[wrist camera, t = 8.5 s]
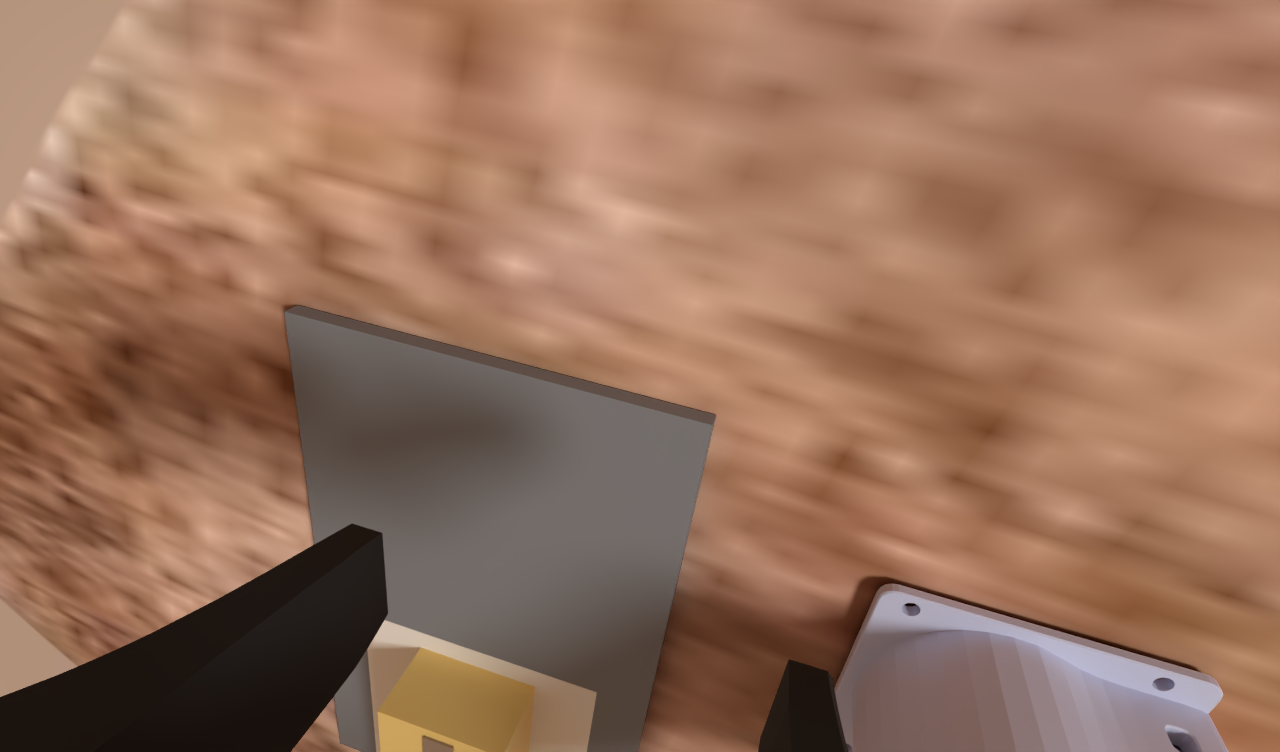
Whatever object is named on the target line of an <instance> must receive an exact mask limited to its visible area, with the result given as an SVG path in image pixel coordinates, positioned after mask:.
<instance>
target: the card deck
mask: <svg viewBox="0 0 1280 752" xmlns="http://www.w3.org/2000/svg"><path fill="white" fill-rule="evenodd" d="M534 696H535V687H534V686H531V685H528V684H525V683H522V682H519V681H516V680H514V679H511V678H508V677H505V676H502V675H499V674H496V673H493V672H491V671H488V670H485V669H482V668H479V667H476V666H473V665H470V664H467V663H465V662H462V661H459V660H456V659H453V658H450V657H447V656H444V655H442V654H439V653H436V652H433V651H430V650H427V649H424V648H420V650H419V651H418V653H417V654H416V656H415V657H414V658H413V660H412V661H411V663H410V664H409V666H408V667H407V669H406V670H405V672H404V673H403V675H402V676H401V678H400V679H399V680H398V682H397V683H396V685H395V686H394V688H393V689H392V691H391V692H390V694H389V695H388V697H387V698H386V700H385V701H384V702H383V704H382V705H381V707H380V708H379V710H378V711H377V713H378V726H379V739H380V752H529V744H530V734H531V725H532V715H533V705H534Z"/></svg>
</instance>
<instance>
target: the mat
mask: <svg viewBox="0 0 1280 752" xmlns="http://www.w3.org/2000/svg"><path fill="white" fill-rule="evenodd" d="M284 314H285V321H286V329H287V337H288V344H289V352H290V360H291V368H292V375H293V383H294V391H295V398H296V406H297V414H298V422H299V429H300V437H301V445H302V453H303V460H304V468H305V476H306V483H307V491H308V499H309V507H310V514H311V522H312V530H313V537H314V544H316V543H318V542H320V541H321V540H323V539H325V538H327V537H328V536H330V535H332V534H334V533H335V532H337V531H339V530H341V529H343V528H344V527H346V526H348V525H350V524H355V525H359V526H362V527H365V528H368V529H372V530H375V531H378V532H381V533H382V535H383V549H384V562H385V576H386V590H387V604H388V615H387V617H386V618H385V620H384V622H383V623H382V625H381V627H380V629H379V630H378V632H377V634H376V635H375V637H374V639H373V640H372V642H371V644H370V645H369V647H368V649H367V650H366V652H365V653H364V655H363V657H362V658H361V660H360V661H359V663H358V665H357V666H356V668H355V669H354V670H353V672H352V673H351V674H350V676H349V677H348V678H347V680H346V681H345V682H344V684H343V685H342V686H341V687H340V689H339V690H338V691H337V693H336V694H335V695H334V700H335V707H336V715H337V723H338V730H339V738H340V743H341V744H344V745H346V746H349V747H351V748H354V749H357V750H359V751H362V752H380V739H379V726H378V713H377V711H378V710H379V708H380V707H381V705H382V704H383V702H384V701H385V700H386V698H387V697H388V695H389V694H390V692H391V691H392V689H393V688H394V686H395V685H396V683H397V682H398V680H399V679H400V678H401V676H402V675H403V673H404V672H405V670H406V669H407V667H408V666H409V664H410V663H411V661H412V660H413V658H414V657H415V656H416V654H417V653H418V651H419V650H420V648H424V649H427V650H430V651H433V652H436V653H439V654H442V655H444V656H447V657H450V658H453V659H456V660H459V661H462V662H465V663H467V664H470V665H473V666H476V667H479V668H482V669H485V670H488V671H491V672H493V673H496V674H499V675H502V676H505V677H508V678H511V679H514V680H516V681H519V682H522V683H525V684H528V685H531V686H534V687H535V696H534V705H533V715H532V725H531V734H530V744H529V752H638V749H639V745H640V740H641V736H642V732H643V727H644V723H645V719H646V714H647V710H648V706H649V702H650V697H651V693H652V689H653V684H654V680H655V676H656V671H657V667H658V663H659V659H660V654H661V650H662V646H663V641H664V637H665V633H666V628H667V624H668V620H669V616H670V611H671V607H672V603H673V598H674V594H675V590H676V585H677V581H678V577H679V573H680V568H681V564H682V560H683V555H684V551H685V547H686V542H687V538H688V534H689V530H690V525H691V521H692V517H693V512H694V508H695V504H696V499H697V495H698V491H699V487H700V482H701V478H702V474H703V469H704V465H705V461H706V456H707V452H708V448H709V444H710V439H711V435H712V431H713V426H714V422H715V418H716V415H715V414H711V413H707V412H703V411H699V410H695V409H692V408H688V407H684V406H680V405H676V404H673V403H669V402H665V401H661V400H657V399H654V398H650V397H646V396H642V395H638V394H635V393H631V392H627V391H623V390H619V389H616V388H612V387H608V386H604V385H600V384H597V383H593V382H589V381H585V380H581V379H578V378H574V377H570V376H566V375H562V374H558V373H555V372H551V371H547V370H543V369H539V368H536V367H532V366H528V365H524V364H520V363H517V362H513V361H509V360H505V359H501V358H498V357H494V356H490V355H486V354H482V353H479V352H475V351H471V350H467V349H463V348H460V347H456V346H452V345H448V344H444V343H440V342H437V341H433V340H429V339H425V338H421V337H418V336H414V335H410V334H406V333H402V332H399V331H395V330H391V329H387V328H383V327H380V326H376V325H372V324H368V323H364V322H361V321H357V320H353V319H349V318H345V317H342V316H338V315H334V314H330V313H326V312H322V311H319V310H315V309H311V308H307V307H303V306H300V305H296V306H294V307H292V308H290V309H288V310H286V311H284Z"/></svg>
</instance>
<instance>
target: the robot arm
mask: <svg viewBox="0 0 1280 752" xmlns="http://www.w3.org/2000/svg"><path fill="white" fill-rule="evenodd" d="M907 603H915V604H916V606H906V605H904V604H907ZM387 615H388V604H387V590H386V576H385V562H384V549H383V535H382V533H381V532H378V531H375V530H372V529H368V528H365V527H362V526H359V525H355V524H350V525H348V526H346V527H344V528H343V529H341V530H339V531H337V532H335V533H334V534H332V535H330V536H328V537H327V538H325V539H323V540H321V541H320V542H318V543H316V544H314V545H313V546H311V547H309V548H308V549H306V550H304V551H302V552H301V553H299V554H297V555H295V556H294V557H292V558H290V559H288V560H287V561H285V562H283V563H282V564H280V565H278V566H276V567H275V568H273V569H271V570H269V571H268V572H266V573H264V574H262V575H260V576H259V577H257V578H255V579H253V580H251V581H250V582H248V583H246V584H244V585H242V586H241V587H239V588H237V589H235V590H233V591H232V592H230V593H228V594H226V595H224V596H223V597H221V598H219V599H217V600H215V601H213V602H211V603H209V604H208V605H206V606H204V607H202V608H200V609H198V610H196V611H194V612H192V613H190V614H188V615H186V616H184V617H182V618H180V619H178V620H176V621H174V622H172V623H171V624H169V625H167V626H165V627H163V628H161V629H159V630H157V631H155V632H153V633H151V634H149V635H147V636H145V637H143V638H140V639H138V640H136V641H134V642H132V643H130V644H128V645H125V646H123V647H121V648H119V649H117V650H115V651H112V652H110V653H108V654H106V655H103V656H101V657H99V658H96V659H94V660H92V661H90V662H87V663H85V664H83V665H80V666H78V667H76V668H74V669H71V670H69V671H66V672H64V673H62V674H59V675H57V676H54V677H52V678H50V679H47V680H44V681H41V682H39V683H36V684H34V685H31V686H28V687H26V688H23V689H21V690H18V691H15V692H13V693H10V694H7V695H5V696H2V697H0V752H291V751H292V749H293V748H294V747H295V745H296V744H297V743H298V742H299V740H300V739H301V738H302V736H303V735H304V734H305V733H306V731H307V730H308V729H309V727H310V726H311V725H312V724H313V722H314V721H315V720H316V719H317V717H318V716H319V715H320V713H321V712H322V711H323V710H324V708H325V707H326V706H327V704H328V703H329V702H330V700H331V699H332V698H333V697H334V695H335V694H336V693H337V691H338V690H339V689H340V687H341V686H342V685H343V684H344V682H345V681H346V680H347V678H348V677H349V676H350V674H351V673H352V672H353V670H354V669H355V668H356V666H357V665H358V663H359V661H360V660H361V658H362V657H363V655H364V653H365V652H366V650H367V649H368V647H369V645H370V644H371V642H372V640H373V639H374V637H375V635H376V634H377V632H378V630H379V629H380V627H381V625H382V623H383V622H384V620H385V618H386V617H387ZM1158 678H1164V679H1159V680H1158ZM1222 696H1223V693H1222V690H1221V688H1220V686H1219V684H1218V682H1217V681H1216V680H1215V679H1214V678H1213V677H1211V676H1209V675H1207V674H1204V673H1201V672H1197V671H1194V670H1190V669H1187V668H1184V667H1180V666H1177V665H1173V664H1170V663H1166V662H1163V661H1160V660H1156V659H1153V658H1149V657H1146V656H1142V655H1139V654H1135V653H1132V652H1129V651H1125V650H1122V649H1118V648H1115V647H1111V646H1108V645H1105V644H1101V643H1098V642H1094V641H1091V640H1087V639H1084V638H1081V637H1077V636H1074V635H1070V634H1067V633H1063V632H1060V631H1057V630H1053V629H1050V628H1046V627H1043V626H1039V625H1036V624H1033V623H1029V622H1026V621H1022V620H1019V619H1015V618H1012V617H1009V616H1005V615H1002V614H998V613H995V612H991V611H988V610H985V609H981V608H978V607H974V606H971V605H967V604H964V603H960V602H957V601H954V600H950V599H947V598H943V597H940V596H936V595H933V594H930V593H926V592H923V591H919V590H916V589H912V588H909V587H906V586H902V585H899V584H885V585H883V586H881V587H880V588H879V589H878V590H877V592H876V594H875V597H874V599H873V601H872V604H871V606H870V608H869V610H868V613H867V615H866V617H865V619H864V622H863V624H862V626H861V629H860V631H859V633H858V635H857V638H856V640H855V642H854V645H853V647H852V649H851V651H850V654H849V656H848V658H847V661H846V663H845V665H844V667H843V670H842V672H841V674H840V676H839V679H838V681H837V683H836V686H835V688H834V684H833V678H832V677H831V675H830V674H829V673H828V671H825V670H822V669H819V668H815V667H812V666H809V665H806V664H802V663H799V662H796V661H793V660H790V659H789V661H788V663H787V666H786V669H785V672H784V675H783V677H782V680H781V683H780V686H779V688H778V691H777V694H776V697H775V699H774V702H773V705H772V708H771V710H770V713H769V716H768V719H767V721H766V724H765V727H764V730H763V732H762V735H761V738H760V745H759V751H758V752H1228V750H1227V748H1226V746H1225V744H1224V742H1223V740H1222V738H1221V737H1220V735H1219V733H1218V731H1217V729H1216V727H1215V725H1214V723H1213V721H1212V719H1211V717H1210V716H1209V713H1210V712H1211V710H1212V709H1213V708H1214V707H1215V706H1216V705H1217V704H1218V703H1219V701H1220V700H1221V698H1222Z"/></svg>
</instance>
